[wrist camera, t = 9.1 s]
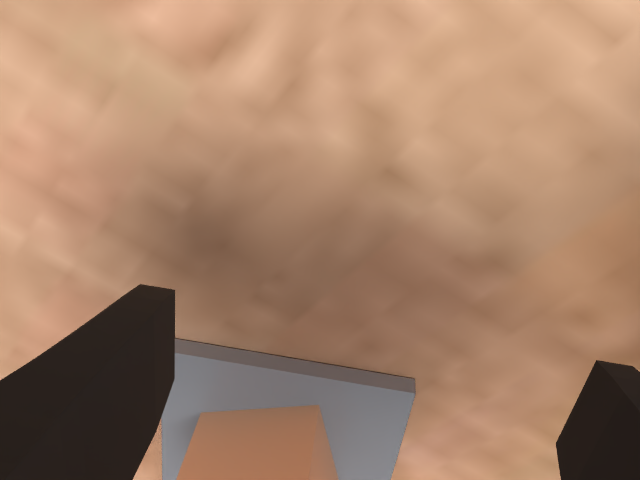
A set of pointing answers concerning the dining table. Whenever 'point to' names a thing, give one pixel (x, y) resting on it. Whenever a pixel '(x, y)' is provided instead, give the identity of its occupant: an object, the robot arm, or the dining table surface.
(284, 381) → the plate
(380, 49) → the dining table surface
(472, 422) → the dining table surface
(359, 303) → the dining table surface
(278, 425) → the terracotta cube
